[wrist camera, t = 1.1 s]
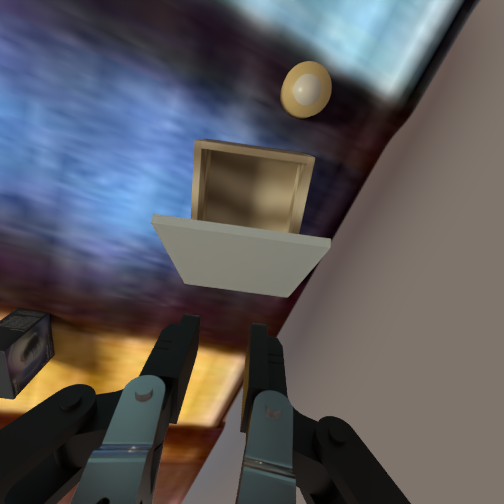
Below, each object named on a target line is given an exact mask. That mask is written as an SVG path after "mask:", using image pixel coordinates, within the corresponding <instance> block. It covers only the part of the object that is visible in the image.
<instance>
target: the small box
mask: <svg viewBox="0 0 504 504" xmlns="http://www.w3.org/2000/svg"><path fill="white" fill-rule="evenodd" d="M53 356H54V348H53V339H52V330H51V322H50V314H49V313H46V312H40V311H34V310H27V309H21V308H17V309H15V310H14V311H13V312H11V313H10V314H9V315H7V316H6V317H5V318H3V319H2V320H0V398H5V399H15V398H16V396H17V395H18V394H19V393H20V392H21V391H22V390H23V389H24V388H25V387H26V385H27V384H28V383H29V382H30V381H31V380H32V379H33V378H34V377H35V376H36V375H37V373H38V372H39V371H40V370H41V369H42V368H43V367H44V366H45V365H46V364H47V363H48V362H49V360H50V359H51V358H52V357H53Z"/></svg>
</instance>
